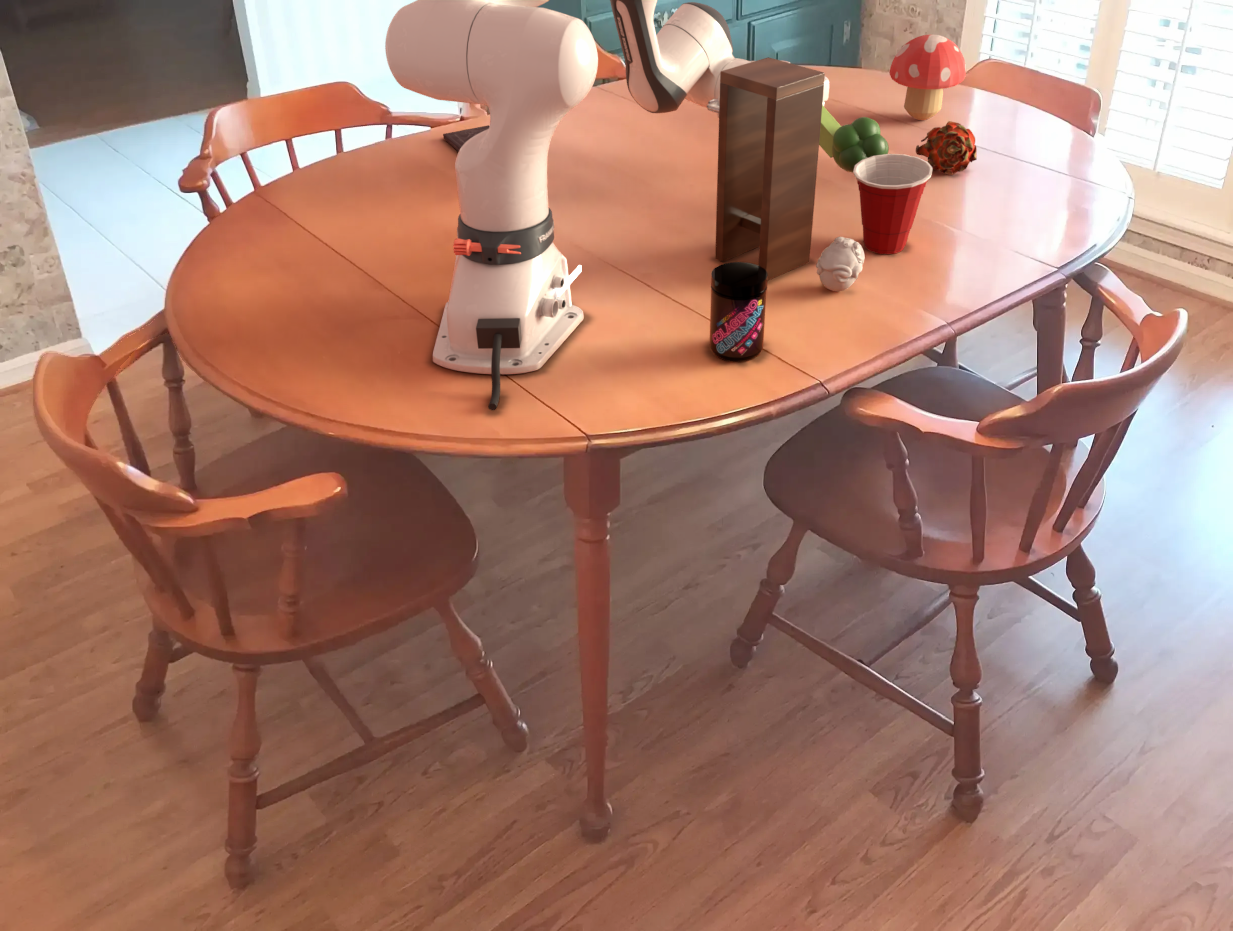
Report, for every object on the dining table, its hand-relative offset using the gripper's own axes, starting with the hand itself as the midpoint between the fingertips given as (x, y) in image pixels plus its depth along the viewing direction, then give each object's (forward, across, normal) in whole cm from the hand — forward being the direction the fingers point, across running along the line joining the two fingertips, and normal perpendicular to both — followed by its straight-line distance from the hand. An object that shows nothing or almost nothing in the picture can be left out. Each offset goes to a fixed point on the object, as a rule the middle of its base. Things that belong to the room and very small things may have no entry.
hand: (811, 110), depth 168 cm
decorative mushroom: (-9, +42, +14) cm, 45 cm away
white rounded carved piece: (+25, -22, +14) cm, 36 cm away
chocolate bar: (-54, -26, +14) cm, 61 cm away
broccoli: (+4, 0, +4) cm, 6 cm away
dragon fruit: (+9, +25, +14) cm, 29 cm away
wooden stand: (+12, -23, +13) cm, 29 cm away
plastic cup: (+21, -7, +14) cm, 26 cm away
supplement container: (+28, -44, +14) cm, 53 cm away
